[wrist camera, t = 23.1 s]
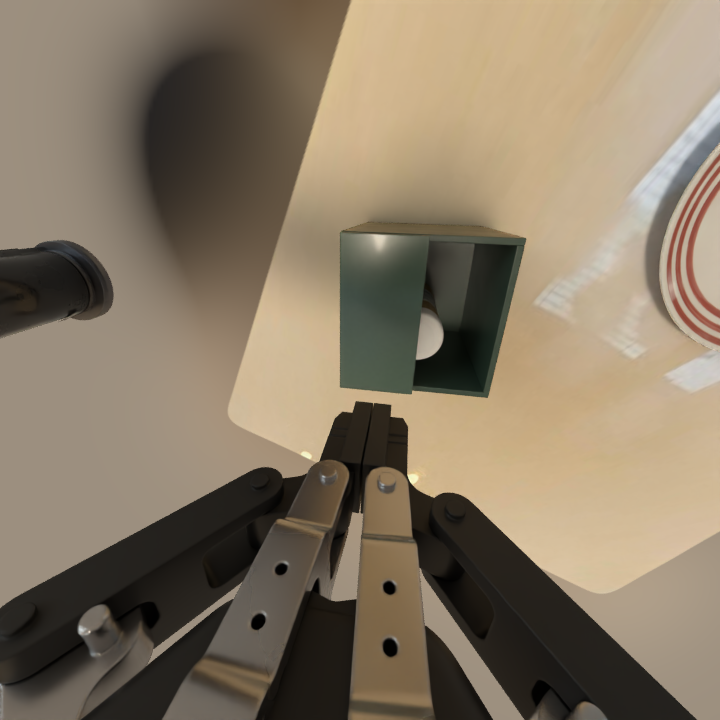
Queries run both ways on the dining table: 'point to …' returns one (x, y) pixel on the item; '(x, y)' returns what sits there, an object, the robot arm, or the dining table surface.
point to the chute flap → (380, 309)
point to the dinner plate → (695, 257)
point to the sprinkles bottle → (429, 327)
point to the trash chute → (464, 301)
